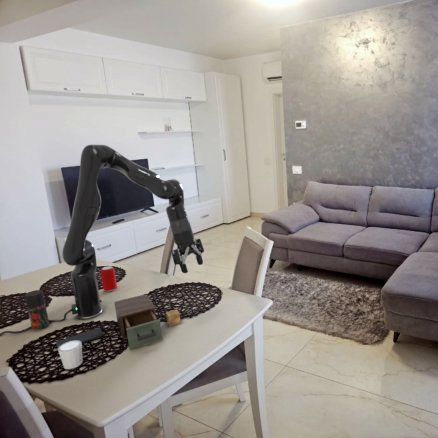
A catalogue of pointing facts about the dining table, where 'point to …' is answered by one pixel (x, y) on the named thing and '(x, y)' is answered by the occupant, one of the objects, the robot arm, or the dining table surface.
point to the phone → (83, 337)
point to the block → (173, 317)
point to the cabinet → (132, 309)
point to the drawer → (142, 329)
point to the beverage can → (108, 278)
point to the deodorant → (37, 310)
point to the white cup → (71, 354)
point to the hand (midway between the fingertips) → (193, 268)
